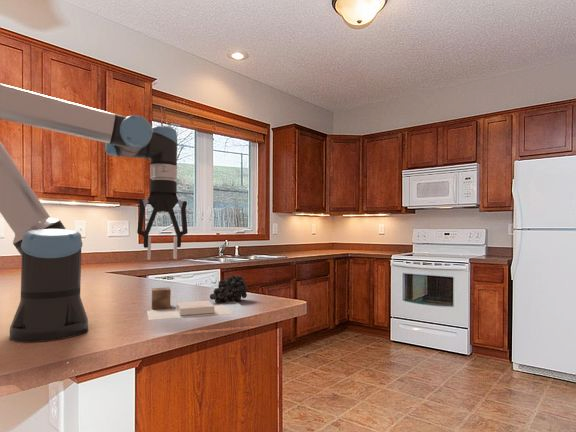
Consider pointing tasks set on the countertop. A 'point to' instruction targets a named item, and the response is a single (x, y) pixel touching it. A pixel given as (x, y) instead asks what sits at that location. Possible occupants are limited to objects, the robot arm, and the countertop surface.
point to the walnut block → (161, 298)
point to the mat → (175, 314)
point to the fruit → (230, 290)
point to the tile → (195, 308)
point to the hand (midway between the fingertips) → (162, 258)
